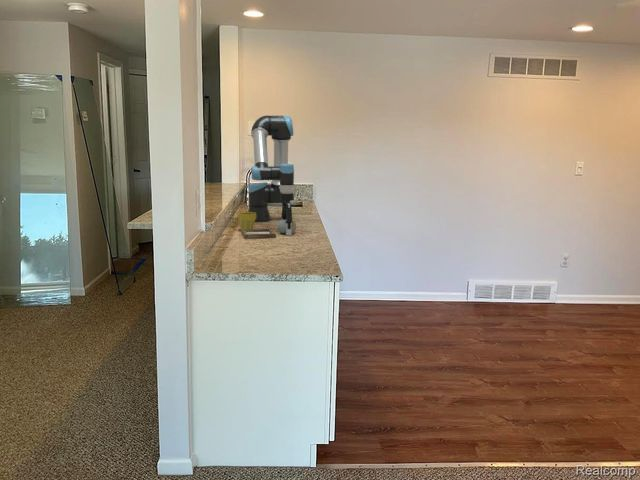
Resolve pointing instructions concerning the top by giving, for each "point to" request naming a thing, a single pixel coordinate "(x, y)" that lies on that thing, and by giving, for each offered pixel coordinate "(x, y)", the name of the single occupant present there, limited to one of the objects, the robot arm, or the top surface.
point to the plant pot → (246, 220)
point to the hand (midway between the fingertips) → (286, 233)
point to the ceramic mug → (283, 226)
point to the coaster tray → (258, 233)
